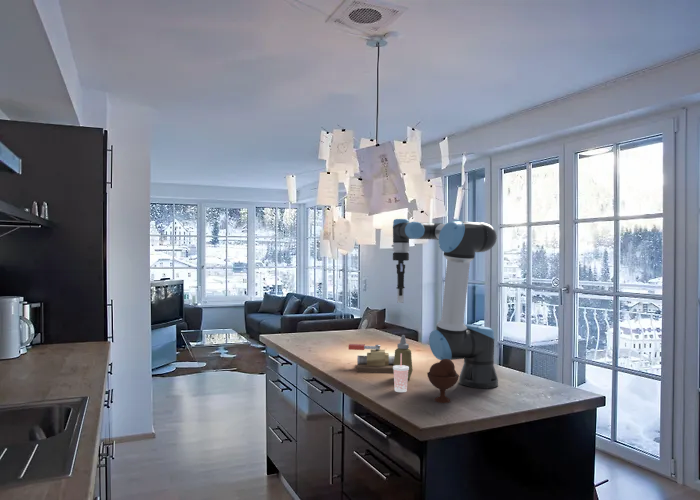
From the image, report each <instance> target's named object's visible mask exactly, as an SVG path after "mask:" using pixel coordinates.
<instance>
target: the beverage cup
mask: <svg viewBox="0 0 700 500" xmlns="http://www.w3.org/2000/svg"><path fill="white" fill-rule="evenodd" d="M393 369H394V373H393V383H394V385H393V386H394V392H397V393H406V392H407V391H408V390H407V389H408V380H409V379H408V370H409V367H408V366H405V365H402V353H401V357H400V365H395V366H393Z"/></svg>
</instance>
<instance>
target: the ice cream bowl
mask: <svg viewBox="0 0 700 500" xmlns="http://www.w3.org/2000/svg"><path fill="white" fill-rule="evenodd" d="M455 368H456V367H455V364H454V362H453V360H450V359H442V360H440V361H439V362H438V361H437V362H434V363H433V364H432V365H431V366H430V368H429V371H428V372H426V374H427V377H428V381H429V382H430V383H431V384H432V386H433V387H435V388H436V389H438V390H439V391H440V393H439V396H437V397H436V398H434V402H436V403H438V404H439V403H441V404H449V403H451V399H450V398H449V397H448V396H446V390H448V389H451V388H453V387H454V386H455V385H456V384H457V383H458V382H459V376H460V374H458V373H457V371H456V370H455Z"/></svg>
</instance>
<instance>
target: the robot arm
mask: <svg viewBox="0 0 700 500" xmlns="http://www.w3.org/2000/svg"><path fill="white" fill-rule="evenodd" d="M392 223H393V224H392V245H391V247H392V251H393V252H392V260H393V261H397V264H396V265H395V267H396V274H397V276H396V277H397V278H396V279H397V282H396V283H397V285H396V286H397V287H396V290H397V298H396V299H397V303H398V304H399V303H400V304H404V289H405V288H406V287H405V284H404V283H405V273H406V271H405V269H406V264H405V263H404V262H405V261H407V262H408V261H409V259H410V254H409V253H410V252H409V251H410V240H436V241H438V245H439V246H438V247H439V249H440V250H441V251H442V252H443V257H444V258H445V259H446V268H445V278H444V288H443V296H442V297H443V298H442V309H441V316H440V317H441V319H440V321H438V322H437V323H436V329H433V330H432V331H430V333H429V336H428V344H429V348H430V351H431V353H432V354H433V356H434V357H435V358H436V359H437V360H440V361H441V360H442V359H450V360H451V361H454V360H463V365H462V368H461V371H460V374H459V378H458V383H459V384H460V385H463V386H465V387H470V388H477V389H491V388H492V389H493V388H496V387H498V386H499V377H498V375H497V372H496V369H495V358H494V357H495V331H494V329H492V327H488V326H483V325H476V324H465V323H464V321H465V313H466V302H467V301H466V300H467V292H468V284H469V283H468V282H469V274H470V267H471V266H470V264H471V262H472V261H473V260H474V259H475V256H476V253H485V252H487V251H490V250H491V249H493V248H494V246H495V244H496V242H497V238H498V237H497V236H498V235H497V231H496V230H495V228H494V227H493V226H492V225H491V224H489V223H486V222H483V221H482V222H481V221H480V222H479V221H464V220H463V221H462V220H456V221H449V222H447V223H443V222H419V221H410V220H409V219H407V218H395V219H394V220H393V222H392Z"/></svg>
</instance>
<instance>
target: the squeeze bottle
mask: <svg viewBox="0 0 700 500" xmlns="http://www.w3.org/2000/svg"><path fill="white" fill-rule="evenodd" d="M401 353H402V365H405V366H408V367H409V370H408V380H410V379H411V377H412V373H413V359H412V350H411V349H410V345H409V343H407V339H406V335H405V334H402V335H401V337H400V342H398V343H397V348H396V349H395V350H394V365H393V366H395V365H400V357H401ZM393 371H394V369H393Z"/></svg>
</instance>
